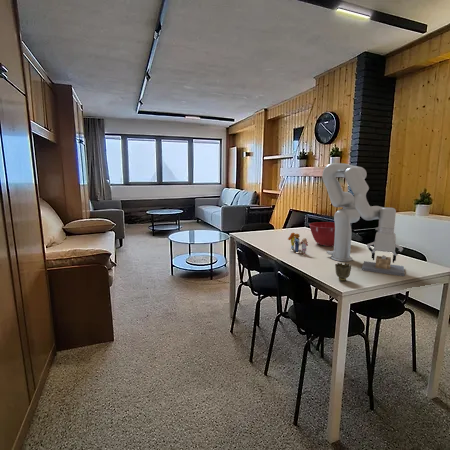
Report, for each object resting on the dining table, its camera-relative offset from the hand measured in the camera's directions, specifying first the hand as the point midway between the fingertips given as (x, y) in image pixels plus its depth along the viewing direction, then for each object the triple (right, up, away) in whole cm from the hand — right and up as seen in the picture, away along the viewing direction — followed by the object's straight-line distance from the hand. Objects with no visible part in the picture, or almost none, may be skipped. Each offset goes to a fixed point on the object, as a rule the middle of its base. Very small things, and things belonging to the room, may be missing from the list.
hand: (383, 260), depth 160 cm
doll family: (-39, +1, +40) cm, 55 cm away
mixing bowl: (-9, +5, +60) cm, 61 cm away
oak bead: (0, -3, +1) cm, 3 cm away
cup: (-29, -8, -16) cm, 34 cm away
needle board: (0, -5, +1) cm, 5 cm away
